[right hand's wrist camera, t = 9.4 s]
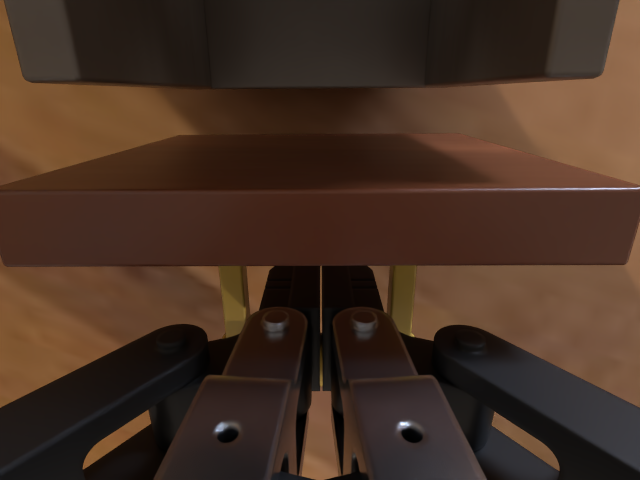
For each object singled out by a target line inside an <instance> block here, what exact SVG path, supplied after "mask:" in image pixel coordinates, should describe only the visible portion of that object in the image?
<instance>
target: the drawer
mask: <svg viewBox="0 0 640 480" xmlns="http://www.w3.org/2000/svg"><path fill="white" fill-rule="evenodd" d="M4 3H5V7H6V11H7V15H8V19H9V23H10V27H11V31H12V35H13V39H14V43H15V47H16V51H17V55H18V59H19V63H20V67H21V71H22V75H23V77H24V79H25V80H27V81H29V82H32V83H51V84H76V85H101V86H126V87H151V88H175V89H308V88H442V87H458V86H474V85H491V84H508V83H525V82H542V81H559V80H575V79H592V78H596V77H598V76H600V75H601V74H602V72H603V71H604V66H605V62H606V58H607V53H608V49H609V44H610V40H611V35H612V31H613V27H614V22H615V18H616V13H617V9H618V4H619V0H4ZM639 222H640V185H636V184H633V183H629V182H626V181H622V180H619V179H615V178H612V177H608V176H605V175H601V174H598V173H594V172H591V171H588V170H584V169H581V168H577V167H574V166H570V165H567V164H563V163H560V162H556V161H553V160H549V159H546V158H542V157H539V156H535V155H532V154H528V153H525V152H522V151H518V150H515V149H511V148H508V147H504V146H501V145H497V144H494V143H490V142H487V141H483V140H480V139H476V138H473V137H469V136H466V135H463V134H459V133H451V134H293V135H178V136H175V137H171V138H168V139H164V140H161V141H157V142H154V143H150V144H147V145H143V146H140V147H136V148H132V149H129V150H125V151H122V152H118V153H115V154H111V155H108V156H104V157H101V158H97V159H94V160H90V161H87V162H83V163H79V164H76V165H72V166H69V167H65V168H62V169H58V170H55V171H51V172H48V173H44V174H41V175H37V176H34V177H30V178H26V179H23V180H19V181H16V182H12V183H9V184H5V185H2V186H0V254H1V257H2V261H3V264H4V265H5V266H7V267H45V266H219V276H220V285H221V294H222V304H223V313H224V323H225V332H226V334H224V336H223V337H222V339H223V338H228V337H232V336H234V335H237V334H240V333H241V330H242V328H243V326H244V324H245V322H246V320H247V319H248V317H249V316H250V307H249V294H248V282H247V269H246V266H390V270H389V287H388V303H387V314H388V315H389V316H391V317H392V319H393V320H394V322H395V324H396V326H397V328H398V330H399V331H400V332H401V333H404V334H406V335H409V336H412V337H414V335H413V334H412V333H411V329H412V317H413V306H414V294H415V283H416V271H417V265H625V264H626V263H627V262H628V260H629V256H630V253H631V249H632V246H633V242H634V239H635V236H636V232H637V229H638V225H639ZM320 386H323V373H322V333H320Z"/></svg>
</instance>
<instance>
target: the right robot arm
mask: <svg viewBox="0 0 640 480" xmlns="http://www.w3.org/2000/svg"><path fill="white" fill-rule="evenodd" d="M322 373H323V391H331V400H332V403H331V421H332V429H333V437H334V444H335V452H336V460H337V468H338V477H334V478H330V479H326V480H640V408H639V407H637V406H635V405H633V404H631V403H629V402H627V401H625V400H623V399H621V398H619V397H617V396H615V395H613V394H611V393H609V392H607V391H605V390H603V389H601V388H599V387H597V386H595V385H593V384H591V383H589V382H587V381H585V380H583V379H581V378H579V377H577V376H575V375H573V374H571V373H569V372H567V371H565V370H563V369H561V368H559V367H557V366H555V365H553V364H551V363H549V362H547V361H545V360H543V359H541V358H539V357H537V356H535V355H533V354H531V353H529V352H527V351H525V350H523V349H521V348H519V347H517V346H515V345H513V344H511V343H509V342H507V341H505V340H503V339H501V338H499V337H497V336H495V335H493V334H491V333H489V332H487V331H484V330H482V329H479V328H476V327H472V326H466V325H451V326H446V327H443V328H441V329H440V330H438V331H437V333H436V334H435V336H434V341H430V340H425V339H420V338H416V337H412V336H409V335H406V334H404V333H401V332H400V331H399V330H398V328H397V326H396V324H395V322H394V320H393V319H392V317H391V316H389V315H388V314H387V313H385V312H384V310H383V306H382V302H381V299H380V295H379V292H378V289H377V285H376V281H375V277H374V274H373V270H372V269H370V268H369V267H368V266H322ZM312 391H320V266H274V267H273V268H272V269H271V270H270V271H269V275H268V278H267V282H266V286H265V290H264V293H263V297H262V301H261V305H260V308H259V311H257V312H255V313H253V314H252V315H251V316H249V317H248V319H247V320H246V322H245V324H244V326H243V328H242V330H241V333H240V334H237V335H234V336H232V337H228V338H223V339H218V340H213V341H209V342H208V339H207V334H206V332H205V331H204V330H203V329H201V328H200V327H198V326H194V325H189V324H176V325H170V326H166V327H163V328H160V329H158V330H155V331H153V332H151V333H149V334H147V335H145V336H143V337H141V338H139V339H137V340H135V341H133V342H131V343H129V344H127V345H125V346H123V347H121V348H119V349H117V350H115V351H113V352H111V353H109V354H107V355H105V356H103V357H101V358H99V359H97V360H95V361H93V362H91V363H89V364H87V365H85V366H83V367H81V368H79V369H77V370H75V371H73V372H71V373H69V374H67V375H65V376H63V377H61V378H59V379H57V380H55V381H53V382H51V383H49V384H47V385H45V386H43V387H41V388H39V389H37V390H35V391H33V392H31V393H29V394H27V395H25V396H23V397H21V398H19V399H17V400H15V401H13V402H11V403H9V404H7V405H5V406H3V407H1V408H0V480H314V479H310V478H306V477H302V468H303V460H304V452H305V445H306V437H307V429H308V421H309V408H310V405H311V395H312ZM147 410H149V415H150V419H151V424H150V425H149V426H147V427H146V428H144V429H143V430H141V431H140V432H138V433H137V434H135V435H134V436H132V437H131V438H130V439H128V440H127V441H125V442H124V443H122V444H121V445H119V446H118V447H116V448H115V449H113V450H112V451H110V452H109V453H108V454H106V455H105V456H103V457H102V458H100V459H99V460H97V461H96V462H94V463H93V464H91V465H90V466H89V467H87V468H85V469H84V470H83V463H84V460H85V457H86V456H87V454H88V452H89V451H90V450H91V449H92V448H93V446H94V445H96V444H97V443H98V442H99V441H101V440H102V439H104V438H105V437H107V436H108V435H110V434H111V433H113V432H114V431H116V430H117V429H119V428H120V427H122V426H124V425H125V424H127V423H128V422H130V421H131V420H133V419H134V418H136V417H137V416H139V415H140V414H142V413H144V412H145V411H147ZM494 411H495V412H497V413H498V414H500V415H501V416H503V417H504V418H506V419H507V420H509V421H510V422H512V423H513V424H515V425H516V426H518V427H520V428H521V429H523V430H524V431H526V432H527V433H529V434H530V435H532V436H533V437H535V438H536V439H538V440H540V441H541V442H542V443H544V444H545V445H546V446H547V447H548V448H549V449H550V450H551V451H552V452H553V453H554V455H555V456H556V458H557V460H558V462H559V466H560V471H558V470H556V469H554V468H553V467H551V466H550V465H549V464H547V463H546V462H544V461H543V460H541V459H540V458H538V457H537V456H535V455H534V454H532V453H531V452H530V451H528V450H527V449H525V448H524V447H522V446H521V445H519V444H518V443H516V442H515V441H513V440H512V439H510V438H509V437H508V436H506V435H505V434H503V433H502V432H500V431H499V430H497V429H496V428H494V427H493V426H491V425H492V420H493V415H494Z"/></svg>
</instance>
